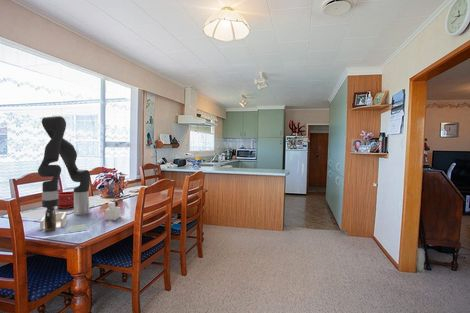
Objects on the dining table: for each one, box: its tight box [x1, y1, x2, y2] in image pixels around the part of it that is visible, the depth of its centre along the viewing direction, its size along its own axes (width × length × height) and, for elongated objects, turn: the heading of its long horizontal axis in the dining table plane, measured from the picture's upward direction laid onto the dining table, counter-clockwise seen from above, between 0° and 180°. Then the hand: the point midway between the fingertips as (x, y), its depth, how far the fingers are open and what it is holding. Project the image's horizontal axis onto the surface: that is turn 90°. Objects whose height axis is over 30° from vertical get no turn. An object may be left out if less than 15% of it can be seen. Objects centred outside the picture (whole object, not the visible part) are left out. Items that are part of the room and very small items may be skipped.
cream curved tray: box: [39, 211, 68, 230], centre depth 145 cm, size 12×16×6 cm
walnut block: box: [44, 212, 57, 232], centre depth 135 cm, size 4×4×9 cm
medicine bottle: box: [104, 200, 121, 221], centre depth 161 cm, size 7×7×12 cm
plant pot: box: [56, 191, 74, 209], centre depth 186 cm, size 13×13×12 cm
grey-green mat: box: [65, 223, 88, 234], centre depth 139 cm, size 10×10×1 cm
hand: (50, 226), depth 135 cm, fingers closed on walnut block, 4 cm apart
